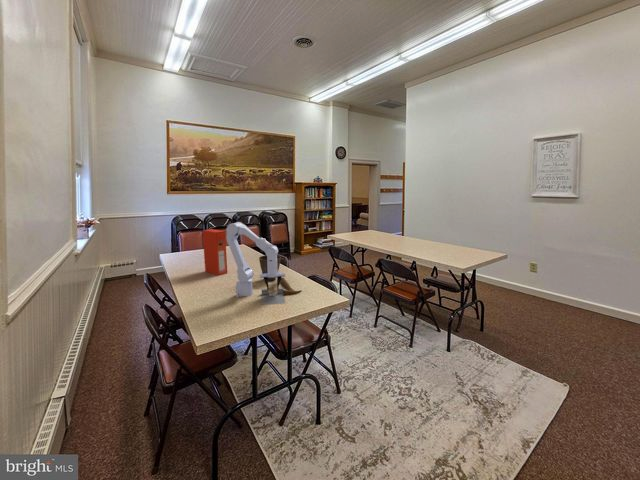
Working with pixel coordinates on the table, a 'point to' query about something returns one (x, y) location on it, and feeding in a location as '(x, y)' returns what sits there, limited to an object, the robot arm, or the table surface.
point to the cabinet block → (272, 287)
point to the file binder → (215, 251)
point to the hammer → (288, 288)
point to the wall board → (273, 297)
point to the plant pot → (264, 265)
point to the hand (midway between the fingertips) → (272, 289)
